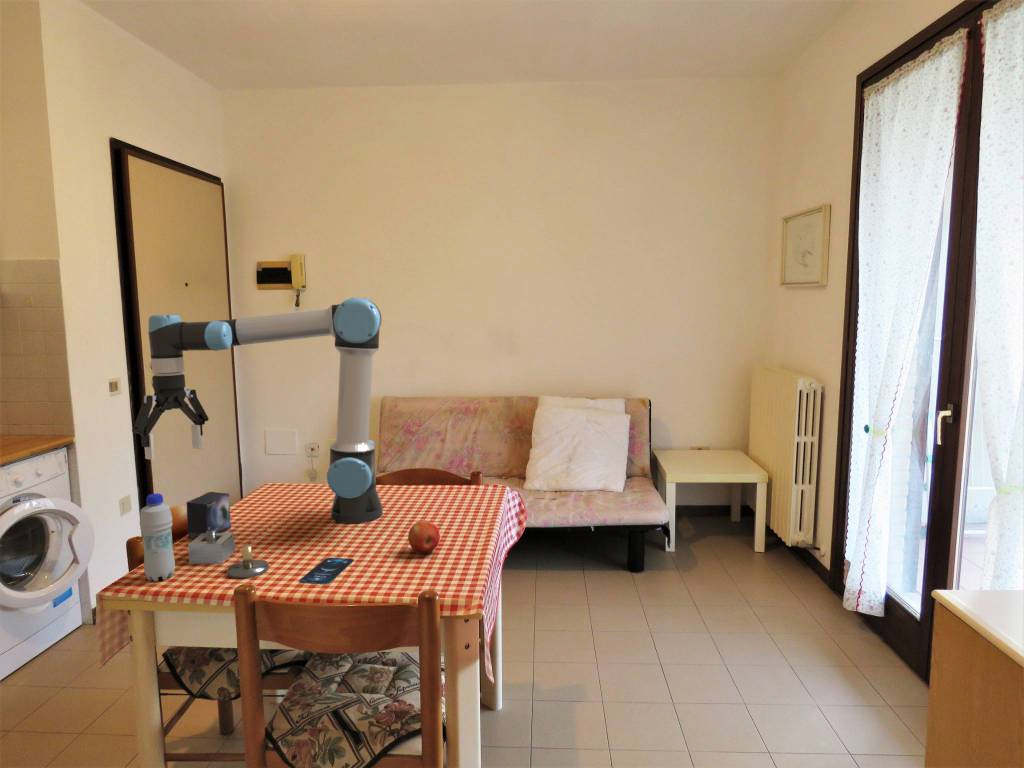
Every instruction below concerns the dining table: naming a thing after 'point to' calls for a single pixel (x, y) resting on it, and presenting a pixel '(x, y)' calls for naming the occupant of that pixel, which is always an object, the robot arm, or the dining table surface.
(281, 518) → the dining table surface
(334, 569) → the smartphone
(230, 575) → the round stand base
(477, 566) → the dining table surface
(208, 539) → the stand rod
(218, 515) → the small box
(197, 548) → the grey hollow block
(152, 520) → the bottle
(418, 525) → the apple
